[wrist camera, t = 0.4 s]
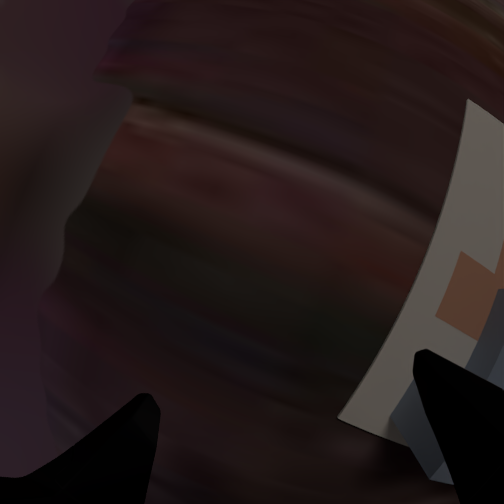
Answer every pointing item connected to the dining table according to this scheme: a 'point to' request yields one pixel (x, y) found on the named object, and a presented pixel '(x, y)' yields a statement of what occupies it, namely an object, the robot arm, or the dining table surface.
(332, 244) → the dining table surface
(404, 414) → the t block
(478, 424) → the robot arm
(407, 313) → the t mat
